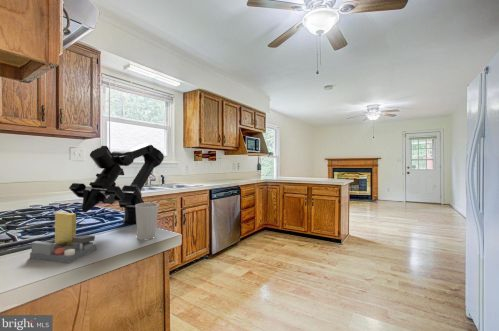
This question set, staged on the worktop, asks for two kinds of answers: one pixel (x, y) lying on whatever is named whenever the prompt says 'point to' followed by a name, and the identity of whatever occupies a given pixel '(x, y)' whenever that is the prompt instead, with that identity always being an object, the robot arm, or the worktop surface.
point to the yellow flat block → (65, 228)
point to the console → (60, 251)
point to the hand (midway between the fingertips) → (83, 211)
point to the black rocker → (83, 239)
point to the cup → (146, 220)
